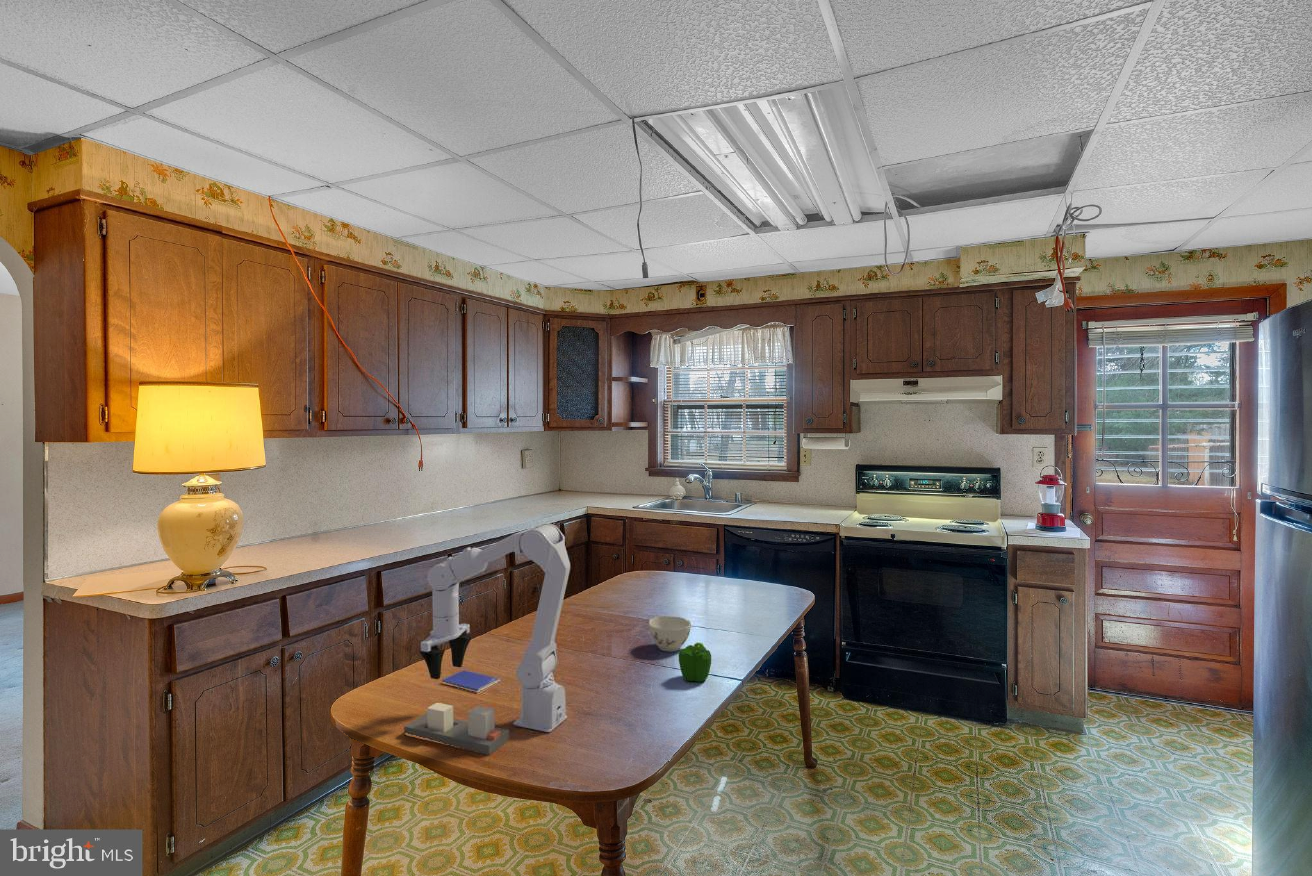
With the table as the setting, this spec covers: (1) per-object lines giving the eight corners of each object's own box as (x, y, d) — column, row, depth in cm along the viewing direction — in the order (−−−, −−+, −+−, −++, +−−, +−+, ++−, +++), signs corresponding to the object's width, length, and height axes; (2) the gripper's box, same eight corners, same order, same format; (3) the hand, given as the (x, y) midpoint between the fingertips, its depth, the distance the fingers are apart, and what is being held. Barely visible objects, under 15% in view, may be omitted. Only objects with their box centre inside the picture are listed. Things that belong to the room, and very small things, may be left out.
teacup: (676, 659, 186) (676, 631, 186) (640, 650, 193) (640, 623, 193) (702, 644, 199) (702, 617, 199) (668, 636, 206) (668, 611, 206)
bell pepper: (674, 675, 175) (674, 638, 174) (702, 671, 178) (702, 634, 177) (686, 687, 167) (686, 648, 167) (716, 682, 170) (716, 644, 170)
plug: (453, 733, 143) (453, 705, 143) (444, 739, 140) (443, 711, 140) (437, 729, 145) (436, 702, 145) (427, 735, 142) (427, 708, 142)
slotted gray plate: (509, 739, 140) (509, 707, 140) (489, 755, 134) (488, 721, 133) (427, 721, 148) (426, 691, 148) (404, 735, 142) (403, 703, 142)
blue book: (500, 677, 171) (464, 669, 177) (477, 689, 164) (441, 679, 169) (500, 683, 171) (464, 675, 177) (477, 695, 164) (441, 686, 170)
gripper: (452, 604, 161) (453, 659, 161) (409, 621, 147) (410, 681, 148) (476, 607, 158) (477, 663, 158) (434, 624, 144) (435, 686, 145)
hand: (446, 672), depth 153 cm, fingers open, 7 cm apart
